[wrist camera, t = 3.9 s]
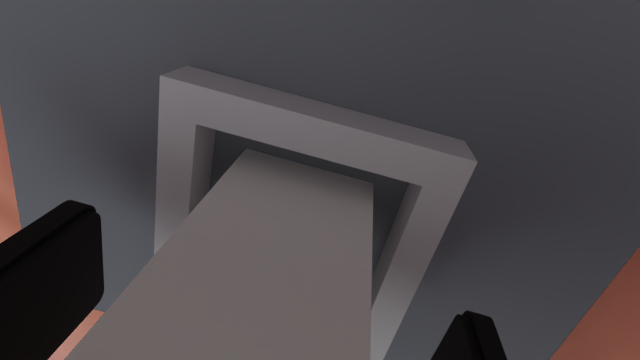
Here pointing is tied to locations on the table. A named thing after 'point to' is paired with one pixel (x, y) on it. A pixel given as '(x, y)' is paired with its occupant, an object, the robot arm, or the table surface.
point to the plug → (253, 274)
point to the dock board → (351, 138)
